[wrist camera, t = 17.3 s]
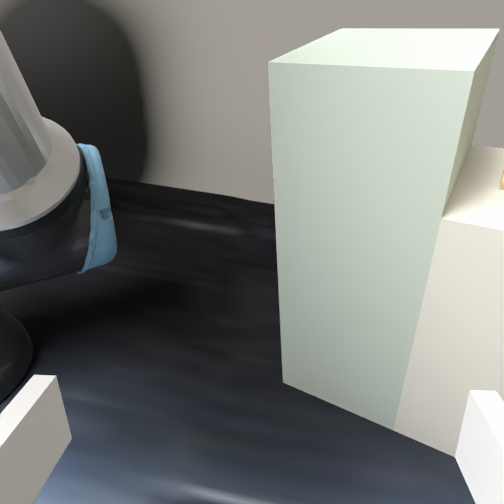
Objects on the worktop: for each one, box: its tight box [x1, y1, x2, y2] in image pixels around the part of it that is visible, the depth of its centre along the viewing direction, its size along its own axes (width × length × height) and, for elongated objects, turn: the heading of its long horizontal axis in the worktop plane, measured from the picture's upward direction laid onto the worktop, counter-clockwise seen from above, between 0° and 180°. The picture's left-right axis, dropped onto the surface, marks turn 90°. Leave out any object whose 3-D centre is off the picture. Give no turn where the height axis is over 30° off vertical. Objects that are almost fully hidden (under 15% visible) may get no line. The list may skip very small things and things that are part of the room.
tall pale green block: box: [268, 28, 504, 457], centre depth 32 cm, size 12×22×30 cm, turn 60°
